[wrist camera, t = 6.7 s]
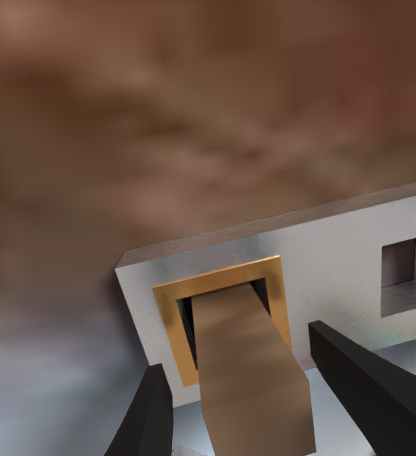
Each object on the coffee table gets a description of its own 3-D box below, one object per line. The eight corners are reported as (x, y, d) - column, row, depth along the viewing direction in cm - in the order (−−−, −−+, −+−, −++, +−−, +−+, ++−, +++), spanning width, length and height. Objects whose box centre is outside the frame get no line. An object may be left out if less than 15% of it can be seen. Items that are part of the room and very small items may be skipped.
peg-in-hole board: (454, 172, 15) (508, 174, 12) (440, 299, 18) (482, 321, 15) (125, 250, 14) (114, 269, 11) (168, 374, 16) (165, 411, 14)
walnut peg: (242, 271, 15) (308, 380, 7) (250, 315, 16) (316, 451, 8) (190, 284, 15) (202, 411, 7) (201, 328, 16) (223, 480, 8)
